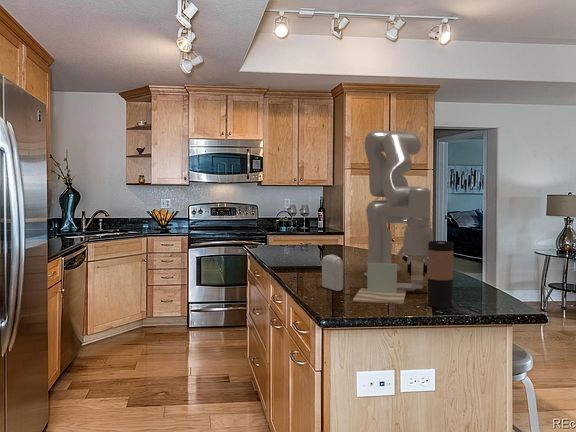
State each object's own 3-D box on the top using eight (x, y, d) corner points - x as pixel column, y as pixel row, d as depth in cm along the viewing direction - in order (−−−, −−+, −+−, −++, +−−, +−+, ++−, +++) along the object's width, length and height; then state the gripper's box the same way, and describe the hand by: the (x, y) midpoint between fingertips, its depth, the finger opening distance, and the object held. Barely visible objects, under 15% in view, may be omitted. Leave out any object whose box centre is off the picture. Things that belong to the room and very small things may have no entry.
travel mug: (423, 303, 171) (424, 240, 170) (446, 302, 172) (448, 240, 171) (432, 308, 163) (433, 243, 162) (456, 308, 164) (457, 243, 163)
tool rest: (388, 284, 204) (388, 282, 204) (415, 285, 202) (415, 283, 202) (386, 289, 194) (386, 287, 194) (415, 290, 192) (415, 288, 192)
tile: (367, 290, 188) (368, 262, 188) (396, 292, 186) (397, 263, 185) (367, 291, 187) (367, 263, 186) (396, 293, 184) (396, 264, 183)
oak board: (360, 290, 193) (360, 288, 193) (406, 292, 189) (406, 290, 189) (352, 301, 174) (352, 299, 174) (403, 304, 170) (403, 302, 169)
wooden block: (411, 285, 190) (412, 240, 189) (422, 286, 189) (424, 241, 188) (410, 288, 186) (412, 242, 185) (422, 288, 185) (423, 242, 184)
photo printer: (320, 286, 199) (320, 253, 199) (330, 285, 201) (330, 253, 200) (334, 291, 190) (334, 256, 189) (344, 290, 192) (345, 256, 191)
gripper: (393, 223, 184) (392, 276, 186) (443, 225, 180) (442, 278, 181) (394, 221, 192) (393, 272, 193) (443, 223, 187) (441, 274, 189)
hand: (417, 274), depth 187 cm, fingers closed on wooden block, 4 cm apart
